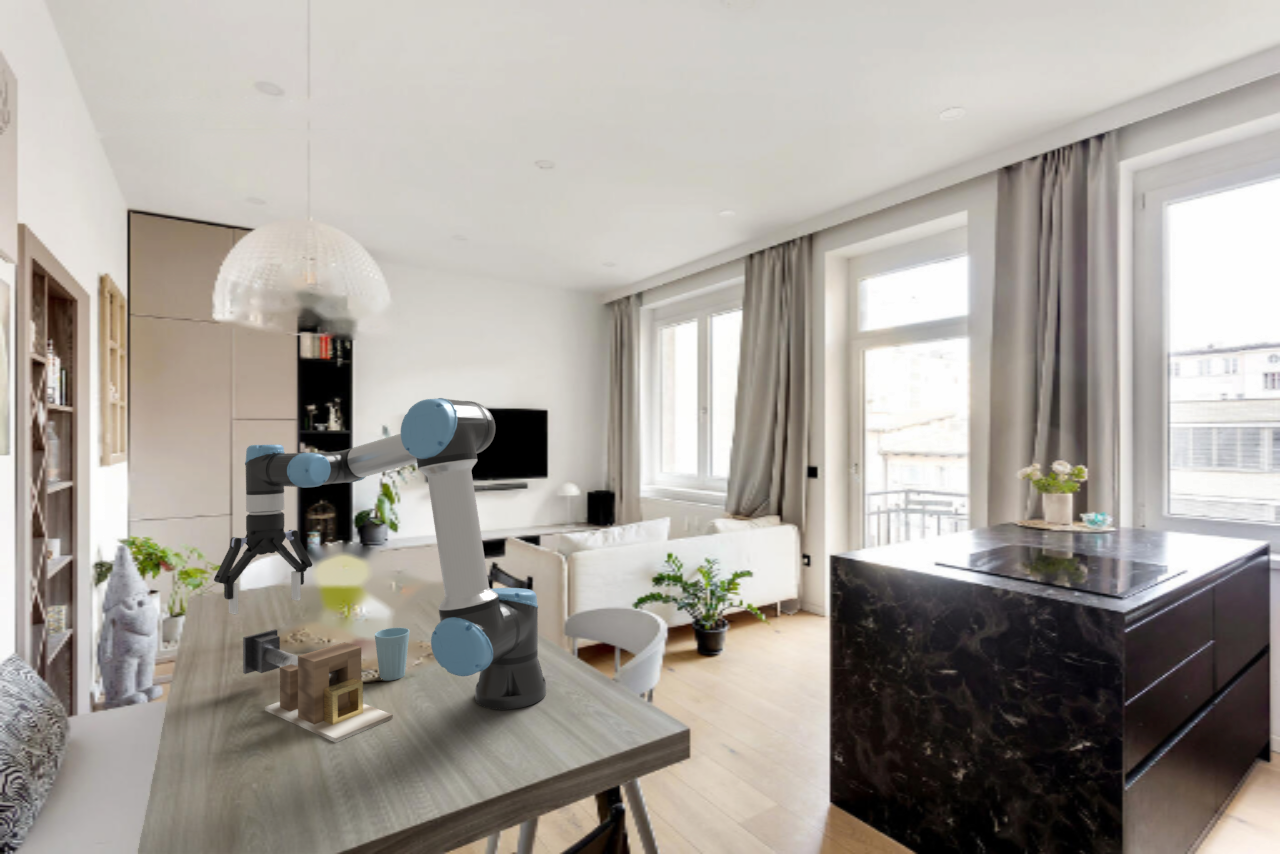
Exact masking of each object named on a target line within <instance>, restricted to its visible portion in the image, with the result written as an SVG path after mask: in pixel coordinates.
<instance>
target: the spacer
mask: <svg viewBox="0 0 1280 854" xmlns="http://www.w3.org/2000/svg"><path fill="white" fill-rule="evenodd" d="M348 691H350V707H347V708H344V709H342V710H339V711H338V695H340V694H343V693H346V692H348ZM363 703H364V682H363V680H362V681H361V680H358V679H355V678H353V679H351V680H348V681H345V682H342V683H339V684H336V685H333V686H330V687H328V688H325V689H324V722H327V723H329V724H331V725H334V724H337V723H339V722H342V721H344V720H347V719H349V718H352V717H354V716H357V715H359V714H362V713H363Z"/></svg>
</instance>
